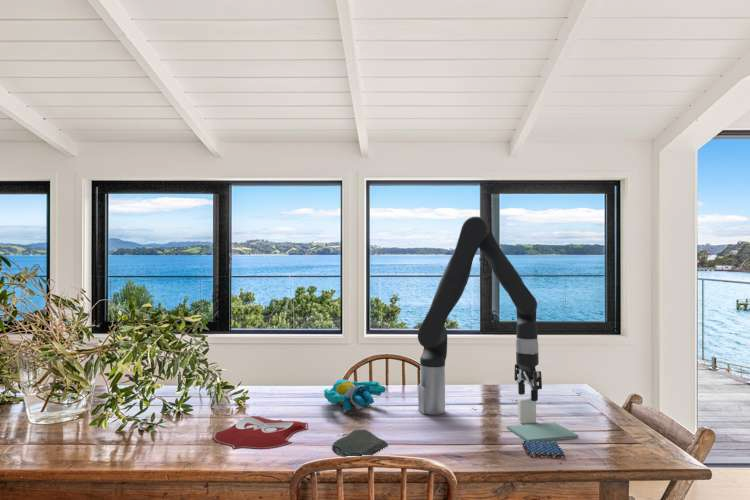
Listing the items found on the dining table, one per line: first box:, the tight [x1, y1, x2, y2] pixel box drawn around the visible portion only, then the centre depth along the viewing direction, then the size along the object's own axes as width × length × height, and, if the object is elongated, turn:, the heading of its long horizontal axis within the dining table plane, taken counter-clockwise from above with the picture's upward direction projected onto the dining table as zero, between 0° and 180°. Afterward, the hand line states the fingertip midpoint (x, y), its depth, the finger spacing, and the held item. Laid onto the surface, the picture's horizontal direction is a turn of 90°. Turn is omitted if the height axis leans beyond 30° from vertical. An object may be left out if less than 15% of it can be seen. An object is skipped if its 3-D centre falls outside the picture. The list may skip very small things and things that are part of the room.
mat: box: [506, 421, 579, 442], centre depth 167 cm, size 18×13×1 cm
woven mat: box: [521, 440, 566, 460], centre depth 151 cm, size 10×11×2 cm
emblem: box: [212, 415, 309, 450], centre depth 165 cm, size 29×3×30 cm
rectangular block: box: [517, 397, 537, 425], centre depth 178 cm, size 6×2×8 cm, turn 103°
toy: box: [323, 378, 387, 413], centre depth 193 cm, size 22×12×25 cm
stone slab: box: [331, 429, 389, 457], centre depth 155 cm, size 24×17×2 cm
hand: (527, 397), depth 177 cm, fingers open, 8 cm apart
